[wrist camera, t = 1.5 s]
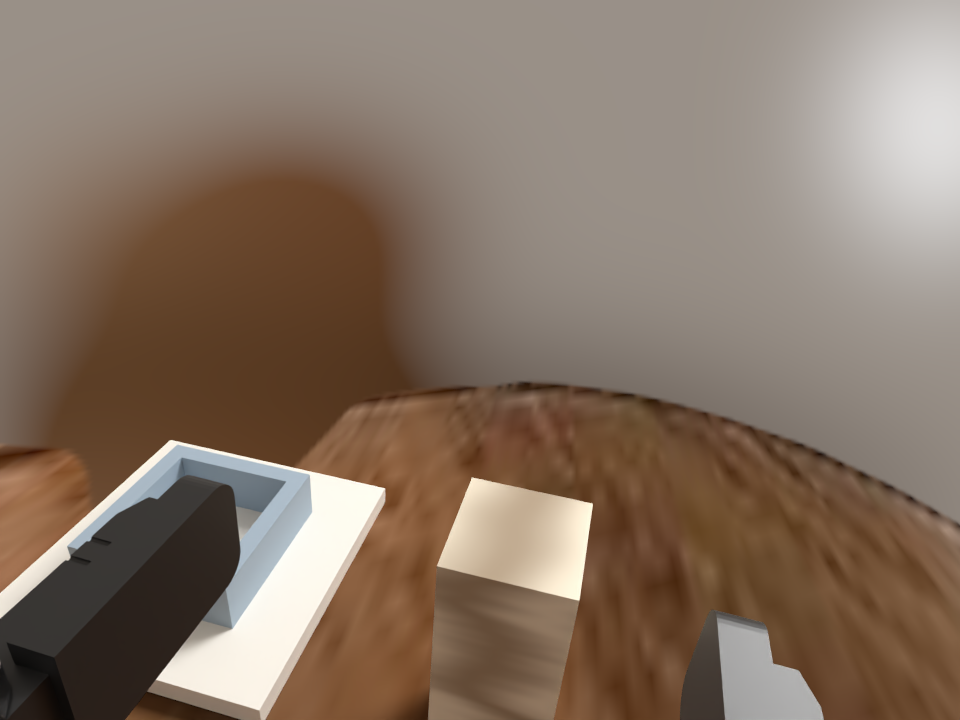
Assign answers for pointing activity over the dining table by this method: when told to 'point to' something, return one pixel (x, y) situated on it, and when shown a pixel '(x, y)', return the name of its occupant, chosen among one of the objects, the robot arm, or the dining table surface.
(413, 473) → the dining table surface
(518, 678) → the birch post
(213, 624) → the sleeve holder
